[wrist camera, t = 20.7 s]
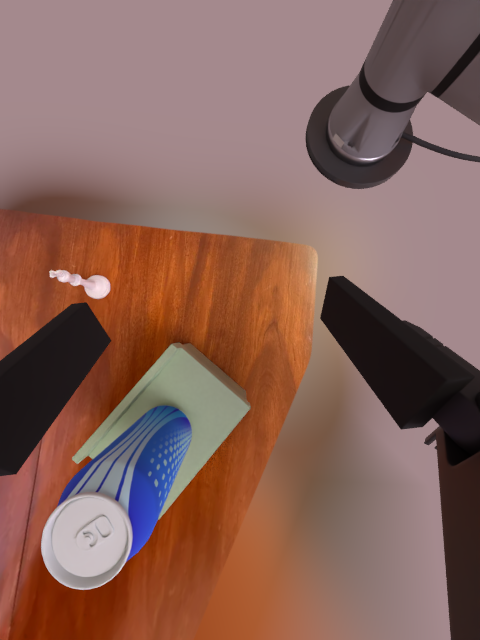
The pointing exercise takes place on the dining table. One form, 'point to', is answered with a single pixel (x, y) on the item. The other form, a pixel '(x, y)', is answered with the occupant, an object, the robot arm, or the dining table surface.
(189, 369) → the shelf
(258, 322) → the dining table surface
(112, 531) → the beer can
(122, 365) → the dining table surface
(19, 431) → the robot arm
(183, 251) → the dining table surface
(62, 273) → the chess piece
